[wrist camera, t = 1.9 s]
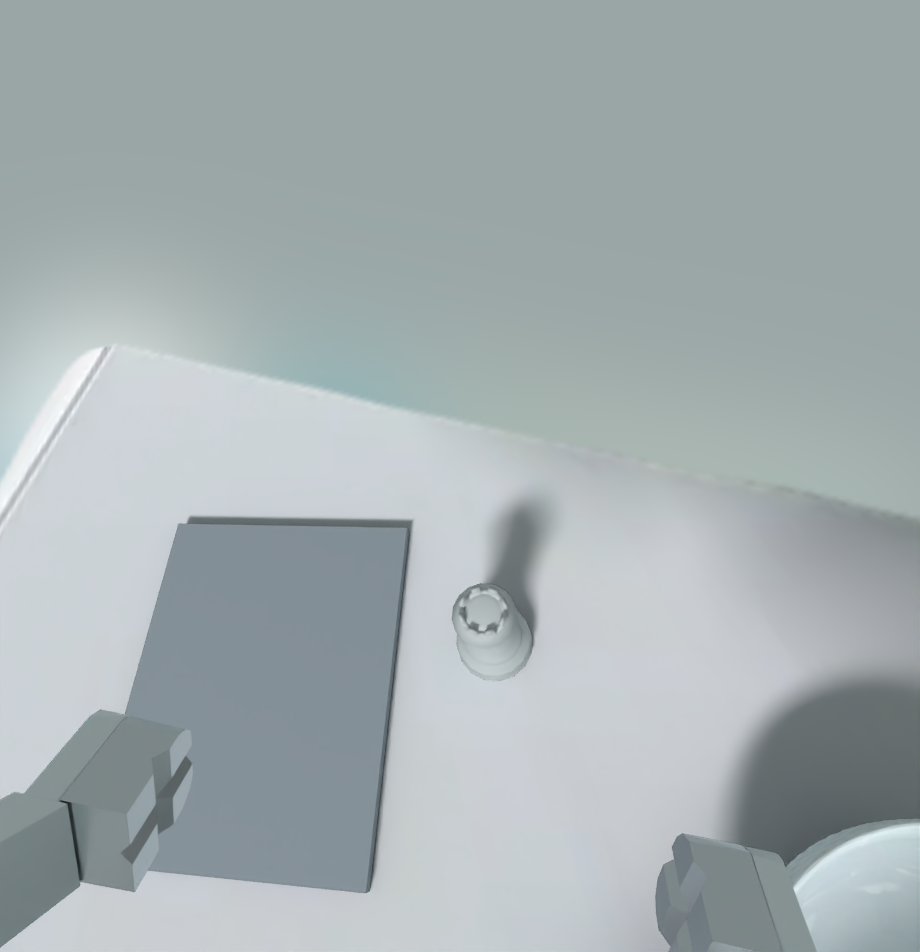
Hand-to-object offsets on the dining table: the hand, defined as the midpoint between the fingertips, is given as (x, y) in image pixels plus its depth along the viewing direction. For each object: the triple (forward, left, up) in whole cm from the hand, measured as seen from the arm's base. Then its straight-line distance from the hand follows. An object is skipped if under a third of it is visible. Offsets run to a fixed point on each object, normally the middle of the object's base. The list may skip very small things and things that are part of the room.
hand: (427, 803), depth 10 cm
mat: (+5, +15, -27) cm, 31 cm away
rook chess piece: (+8, +1, -27) cm, 28 cm away
